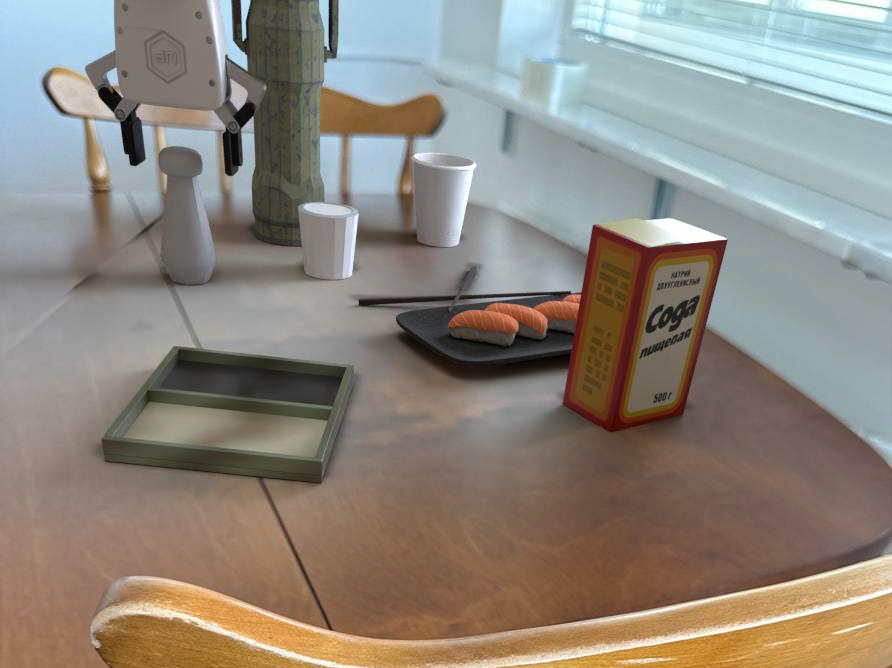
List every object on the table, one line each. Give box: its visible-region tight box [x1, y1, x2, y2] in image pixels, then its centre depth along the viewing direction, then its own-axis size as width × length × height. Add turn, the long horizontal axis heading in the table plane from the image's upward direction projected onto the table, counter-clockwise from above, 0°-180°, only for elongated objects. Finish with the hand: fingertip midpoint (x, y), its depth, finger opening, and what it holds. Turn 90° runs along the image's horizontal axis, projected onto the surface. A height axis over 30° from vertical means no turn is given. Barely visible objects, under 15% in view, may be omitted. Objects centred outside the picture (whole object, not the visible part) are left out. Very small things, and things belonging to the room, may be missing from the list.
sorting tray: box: [100, 345, 355, 484], centre depth 76 cm, size 16×19×2 cm
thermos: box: [230, 0, 340, 247], centre depth 108 cm, size 9×12×35 cm
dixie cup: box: [410, 151, 477, 248], centre depth 122 cm, size 8×8×10 cm
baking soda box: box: [562, 217, 729, 433], centre depth 81 cm, size 10×6×16 cm
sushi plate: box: [358, 266, 582, 367], centre depth 102 cm, size 29×30×4 cm
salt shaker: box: [157, 145, 217, 286], centre depth 98 cm, size 6×6×13 cm
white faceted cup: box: [298, 201, 359, 281], centre depth 107 cm, size 7×7×7 cm
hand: (185, 168), depth 96 cm, fingers open, 9 cm apart
